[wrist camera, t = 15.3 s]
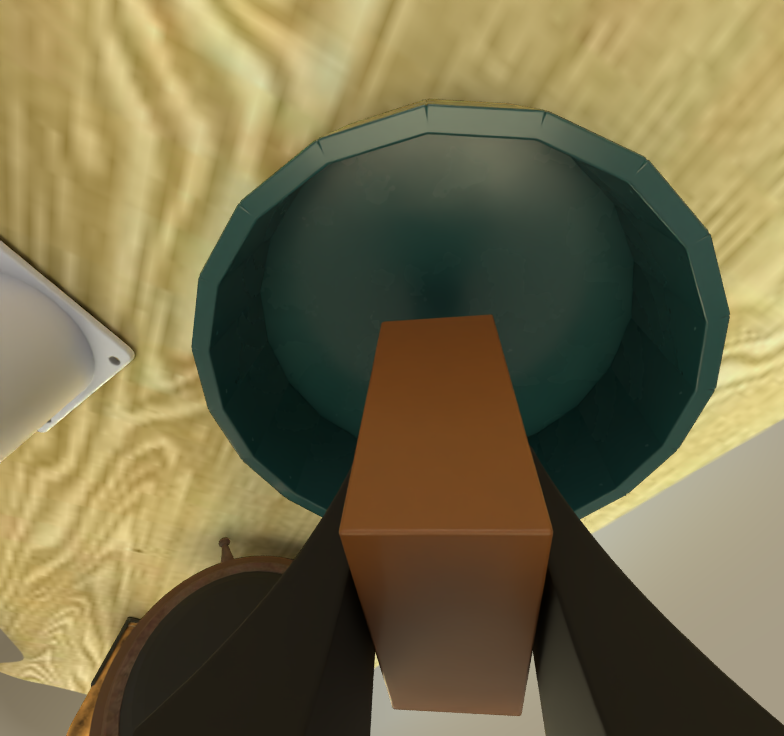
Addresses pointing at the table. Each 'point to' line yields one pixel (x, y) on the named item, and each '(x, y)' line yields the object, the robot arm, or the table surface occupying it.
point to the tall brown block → (446, 520)
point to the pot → (463, 293)
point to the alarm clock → (180, 638)
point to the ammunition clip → (98, 684)
